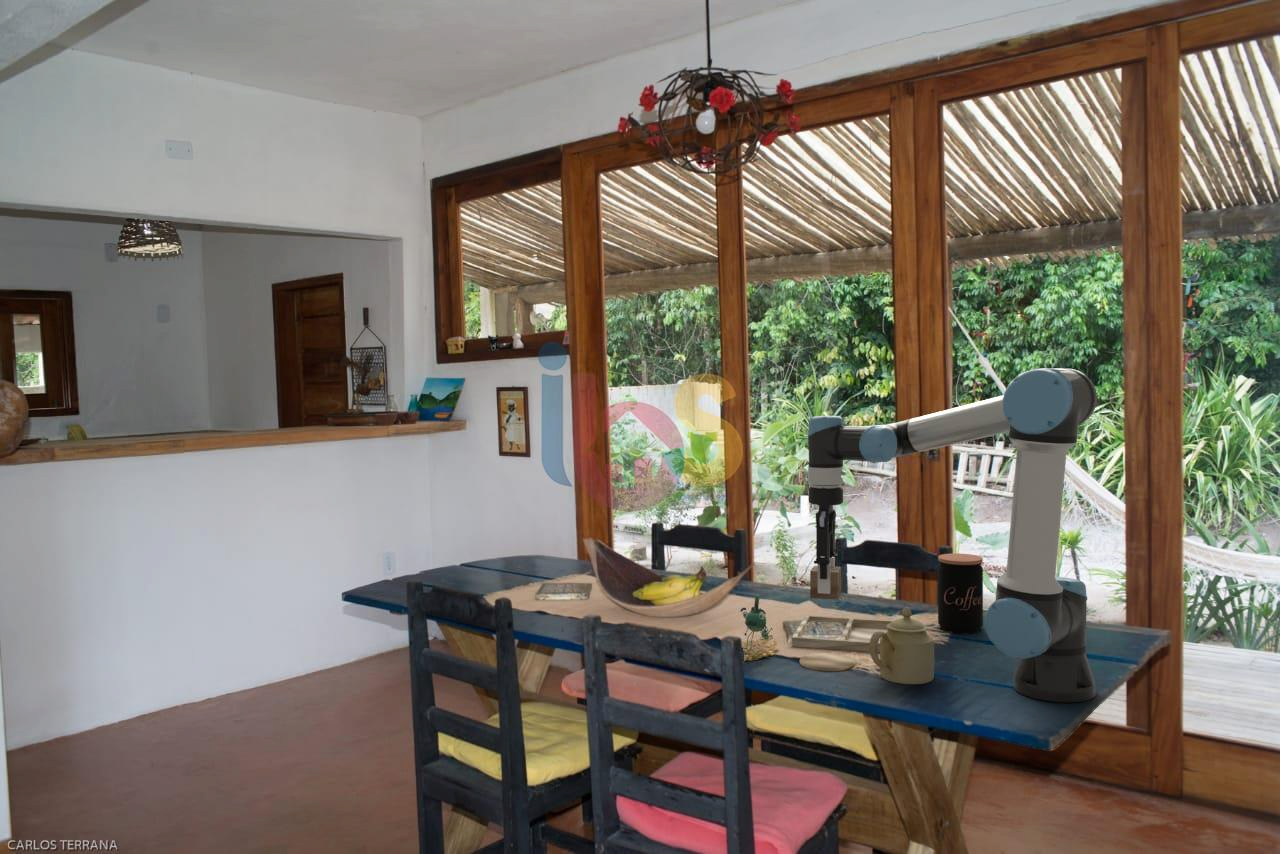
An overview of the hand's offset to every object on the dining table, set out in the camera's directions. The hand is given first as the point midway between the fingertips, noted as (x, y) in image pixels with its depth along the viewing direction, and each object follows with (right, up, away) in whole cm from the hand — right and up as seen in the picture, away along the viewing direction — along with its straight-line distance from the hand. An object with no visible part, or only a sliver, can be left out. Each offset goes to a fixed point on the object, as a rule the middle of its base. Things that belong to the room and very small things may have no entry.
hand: (826, 589), depth 216 cm
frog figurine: (-14, -17, +10) cm, 24 cm away
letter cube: (0, -1, 0) cm, 1 cm away
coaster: (0, -16, +1) cm, 16 cm away
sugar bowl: (+14, -17, -11) cm, 25 cm away
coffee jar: (+39, -15, +28) cm, 50 cm away
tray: (+9, -15, +20) cm, 27 cm away
